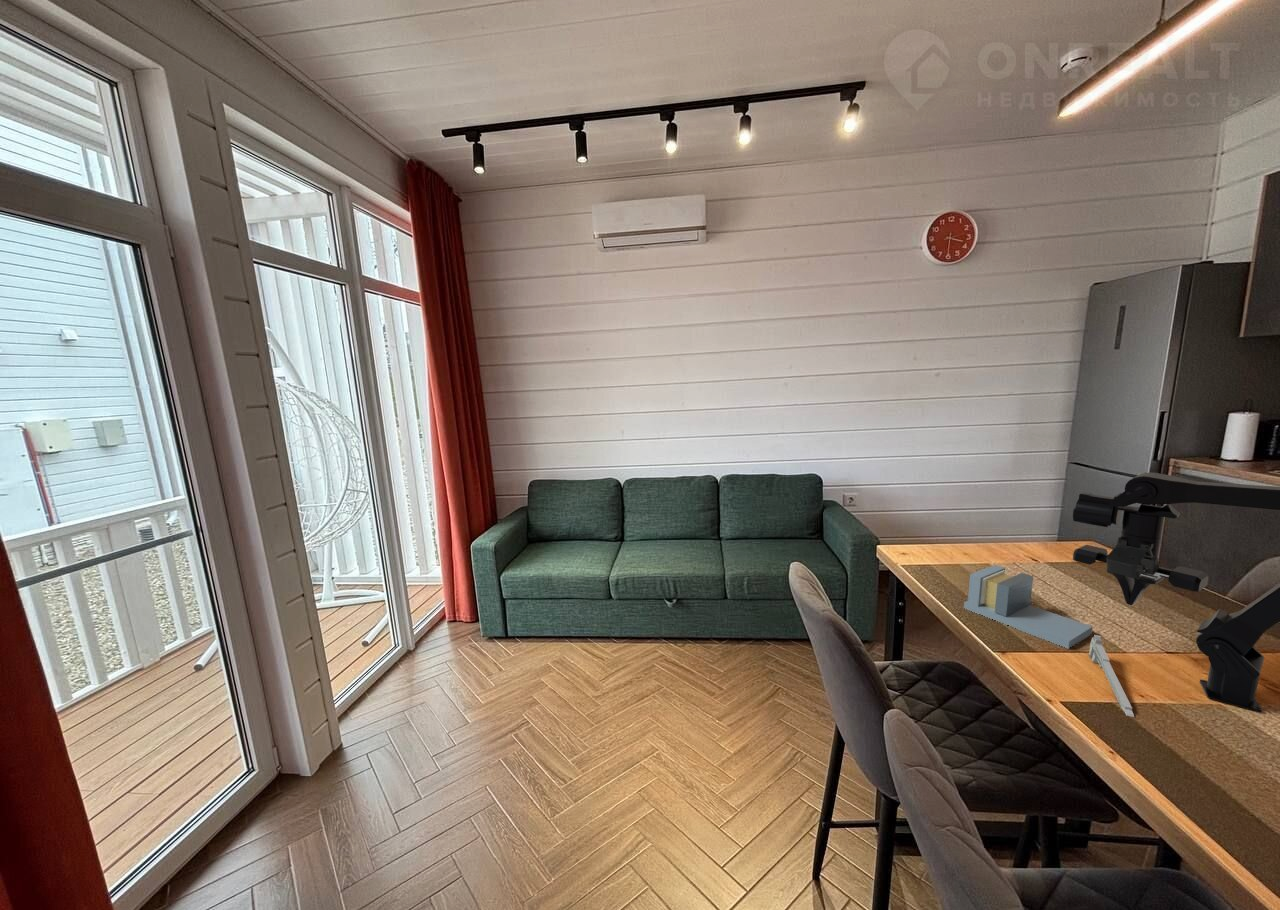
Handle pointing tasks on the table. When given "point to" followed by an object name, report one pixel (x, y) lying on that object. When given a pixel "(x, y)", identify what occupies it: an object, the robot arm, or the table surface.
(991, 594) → the pale yellow wooden block
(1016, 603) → the sliding jaw
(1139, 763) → the table surface
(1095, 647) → the caliper
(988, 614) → the vise
